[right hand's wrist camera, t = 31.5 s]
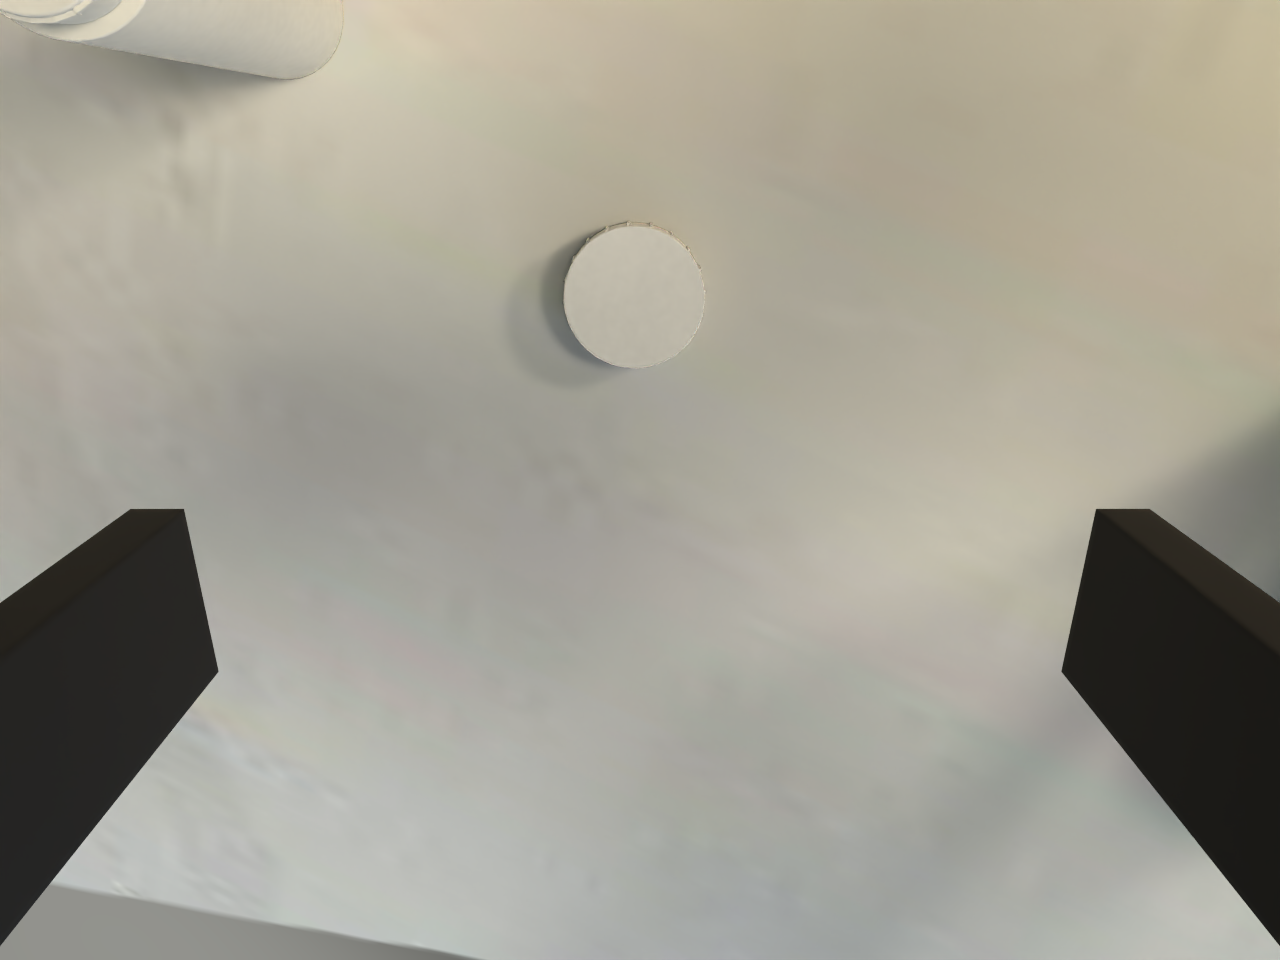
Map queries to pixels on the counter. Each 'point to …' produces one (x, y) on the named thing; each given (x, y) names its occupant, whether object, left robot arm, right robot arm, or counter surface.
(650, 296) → the lid
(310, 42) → the jar
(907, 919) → the counter surface
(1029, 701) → the counter surface
